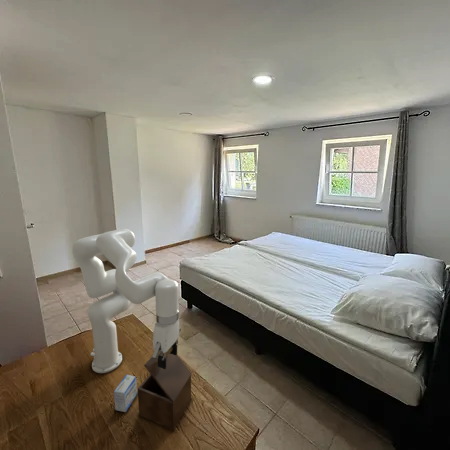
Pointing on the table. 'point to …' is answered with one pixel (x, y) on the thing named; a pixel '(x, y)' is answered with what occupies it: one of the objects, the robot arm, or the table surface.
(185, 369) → the lid
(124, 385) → the medicine box
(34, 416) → the table surface
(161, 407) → the chest
